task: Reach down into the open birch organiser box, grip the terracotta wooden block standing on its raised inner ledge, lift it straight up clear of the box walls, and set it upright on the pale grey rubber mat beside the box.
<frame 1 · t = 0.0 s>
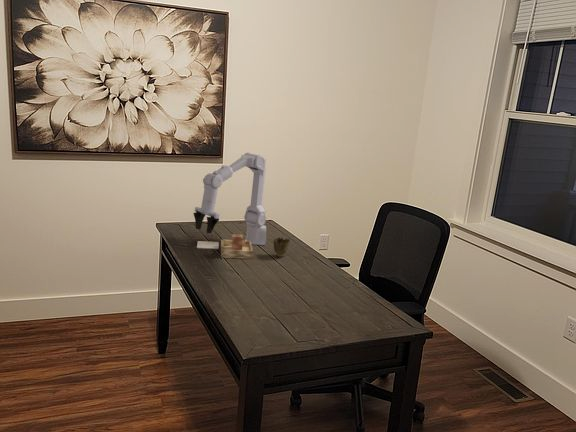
hand: (203, 230, 234), 11 cm above the table, tool pointing down, fingers open, 7 cm apart
cup: (280, 256, 242), on the table
organiser box: (236, 252, 242), on the table
grey mat: (208, 245, 248), on the table
terracotta block: (236, 248, 238), point 3 cm above the table, touching organiser box
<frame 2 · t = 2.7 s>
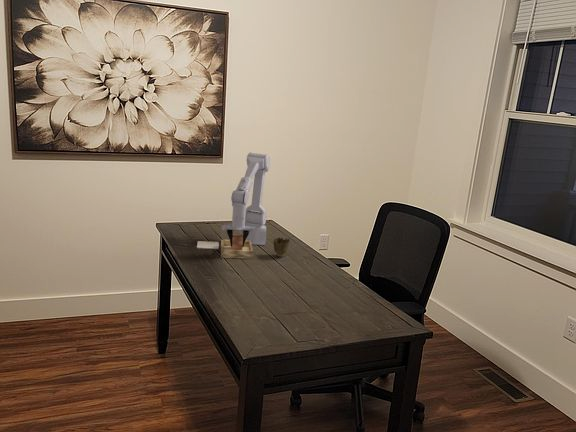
hand: (237, 246, 237), 4 cm above the table, tool pointing down, fingers closed on terracotta block, 4 cm apart
terracotta block: (236, 248, 238), point 3 cm above the table, touching gripper, organiser box
everything else where it was.
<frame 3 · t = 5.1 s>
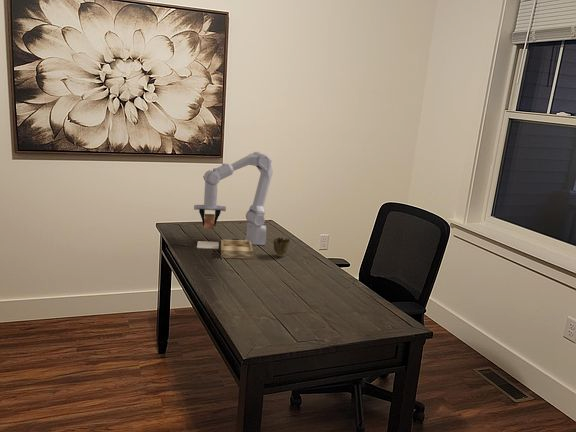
hand: (209, 225, 246), 10 cm above the table, tool pointing down, fingers closed on terracotta block, 4 cm apart
terracotta block: (209, 227, 246), point 9 cm above the table, touching gripper
everything else where it was.
when the fingers open (3 cm above the table, at t = 7.3 s): terracotta block drops 1 cm, resting on grey mat.
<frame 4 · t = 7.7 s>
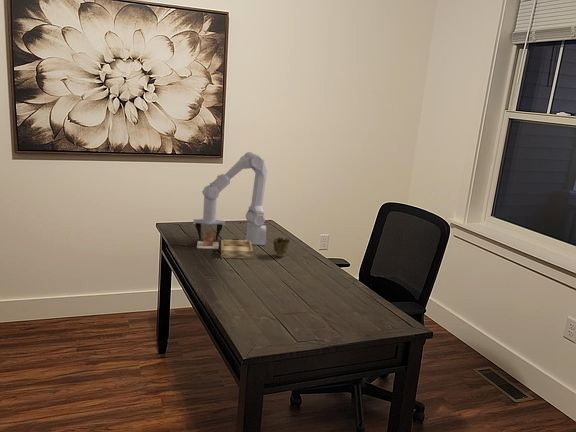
hand: (208, 239, 248), 3 cm above the table, tool pointing down, fingers open, 7 cm apart
terracotta block: (208, 244, 248), resting on grey mat
everything else where it was.
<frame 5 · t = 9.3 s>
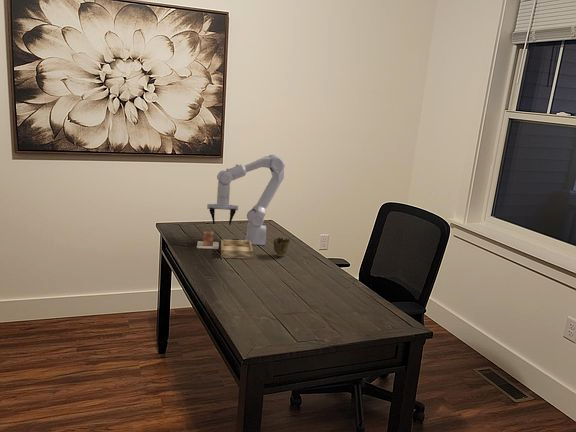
hand: (221, 224, 252), 9 cm above the table, tool pointing down, fingers open, 7 cm apart
nothing on the table moved.
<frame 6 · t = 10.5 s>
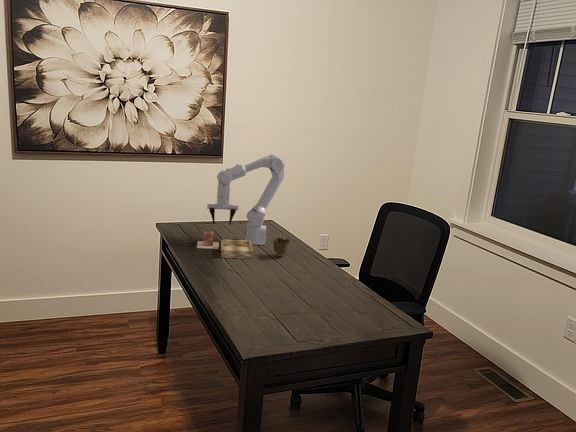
hand: (221, 224, 252), 9 cm above the table, tool pointing down, fingers open, 7 cm apart
nothing on the table moved.
at the end: terracotta block 0.1 cm off-centre on the grey mat, point 0.4 cm above the grey mat's base; terracotta block tilted 0°; terracotta block touching grey mat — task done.
